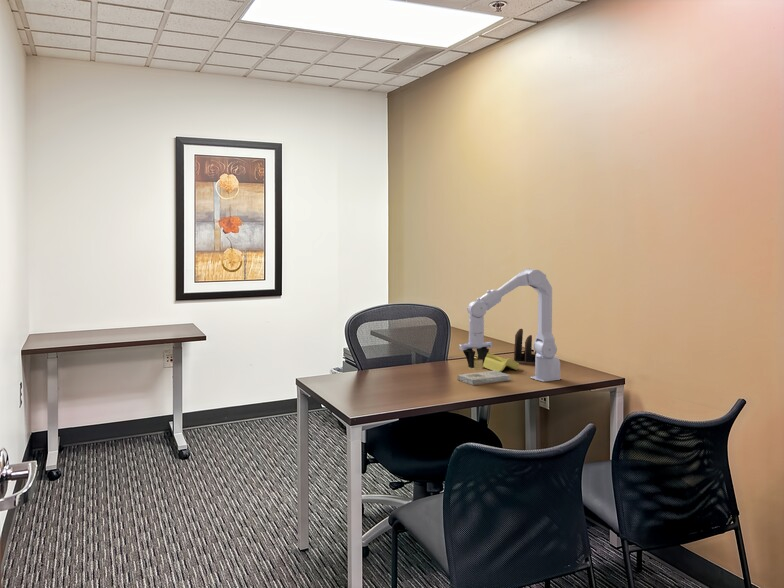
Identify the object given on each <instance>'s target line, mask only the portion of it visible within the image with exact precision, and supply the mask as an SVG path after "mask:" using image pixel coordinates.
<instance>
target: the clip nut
mask: <svg viewBox="0 0 784 588" xmlns="http://www.w3.org/2000/svg"><path fill="white" fill-rule="evenodd" d="M467 369H469V370H473V371H477V370H483V369H484V367H483V360H482V359H478V357H477V356H474V365H473V368H469V366H468V365H467Z"/></svg>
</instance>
